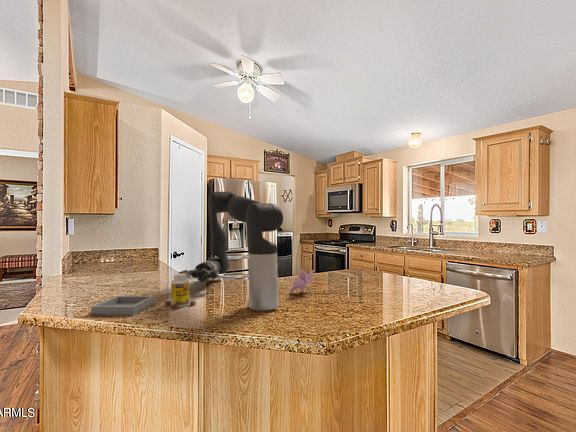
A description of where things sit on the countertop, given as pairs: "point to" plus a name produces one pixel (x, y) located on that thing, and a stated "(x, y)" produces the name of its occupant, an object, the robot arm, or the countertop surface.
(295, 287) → the lily
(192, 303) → the set of brown cubes
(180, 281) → the supplement bottle
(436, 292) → the countertop surface
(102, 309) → the tray
